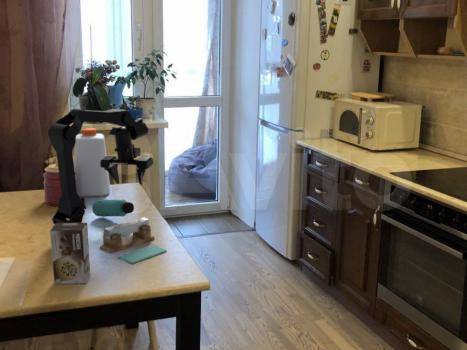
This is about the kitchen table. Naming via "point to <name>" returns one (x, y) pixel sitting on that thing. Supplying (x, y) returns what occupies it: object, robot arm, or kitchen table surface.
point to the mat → (142, 254)
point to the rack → (126, 240)
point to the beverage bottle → (112, 207)
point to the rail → (126, 228)
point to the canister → (52, 185)
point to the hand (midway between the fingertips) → (129, 184)
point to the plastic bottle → (90, 164)
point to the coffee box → (70, 253)
